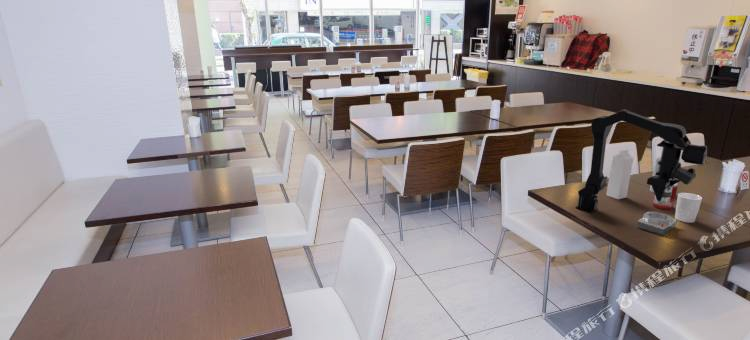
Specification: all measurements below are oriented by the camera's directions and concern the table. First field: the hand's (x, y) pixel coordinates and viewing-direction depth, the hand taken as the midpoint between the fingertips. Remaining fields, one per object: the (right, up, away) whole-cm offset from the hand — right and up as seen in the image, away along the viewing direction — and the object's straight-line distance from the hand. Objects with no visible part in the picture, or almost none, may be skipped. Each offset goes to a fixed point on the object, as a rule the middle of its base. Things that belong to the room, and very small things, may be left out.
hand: (661, 199), depth 166 cm
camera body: (0, -11, +4) cm, 12 cm away
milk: (+2, -1, +35) cm, 35 cm away
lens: (0, -1, 0) cm, 2 cm away
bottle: (+25, +1, +41) cm, 48 cm away
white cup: (+16, -9, +11) cm, 21 cm away
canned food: (+15, -5, +23) cm, 29 cm away
